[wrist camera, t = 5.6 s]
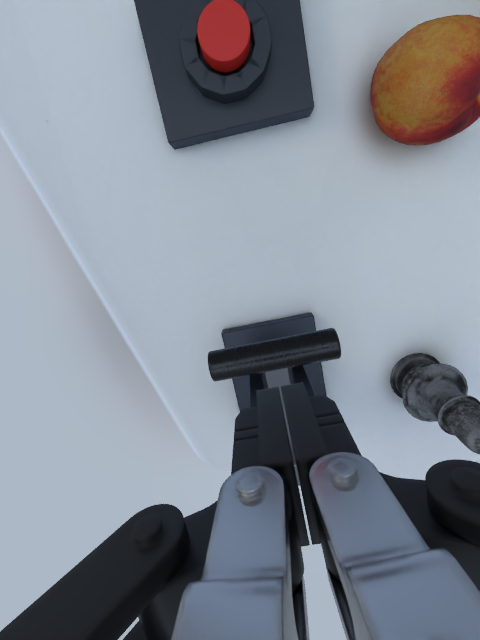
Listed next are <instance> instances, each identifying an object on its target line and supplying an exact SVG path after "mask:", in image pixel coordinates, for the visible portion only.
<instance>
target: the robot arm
mask: <svg viewBox="0 0 480 640" xmlns="http://www.w3.org/2000/svg"><path fill="white" fill-rule="evenodd" d="M281 391H282V396H283V401H284V406H285V411H286V416H287V421H288V426H289V431H290V436H291V441H292V446H293V451H294V456H295V461H296V466H297V471H298V476H299V481H300V486H301V491H302V496H303V500H304V506H305V510H306V515H307V520H308V525H309V530H310V535H311V540H312V544H320V543H321V545H322V549H323V553H324V558H325V562H326V568H327V573H328V578H329V582H330V586H331V589H332V592H333V595H334V599H335V602H336V605H337V608H338V612H339V615H340V618H341V622H342V625H343V628H344V631H345V635H346V638H347V640H480V463H477V462H472V461H467V460H447V461H442V462H439V463H437V464H435V465H433V466H432V467H431V468H430V469H429V470H428V472H427V474H426V480H415V479H404V478H396V477H392V476H389V475H386V474H383V473H381V472H379V471H378V470H377V468H376V467H375V466H374V464H373V463H372V462H370V461H369V460H368V459H366V458H364V457H362V456H361V454H360V452H359V450H358V448H357V446H356V444H355V442H354V440H353V438H352V436H351V434H350V432H349V430H348V428H347V426H346V424H345V423H344V420H343V418H342V416H341V414H340V412H339V410H338V408H337V406H336V404H335V402H334V401H333V400H331V399H330V398H328V397H326V396H325V395H318V396H312V397H308V394H307V391H306V389H305V386H304V383H303V382H301V383H295V384H290V385H284V386H281ZM256 396H257V406H256V407H251V408H245V409H242V410H241V412H240V413H239V415H238V416H237V418H236V419H235V432H234V445H233V458H232V472H231V476H229V477H228V478H227V479H226V481H225V482H224V483H223V485H222V487H221V490H220V493H219V498H218V501H216V502H215V503H214V504H212V505H211V506H209V507H207V508H205V509H203V510H201V511H198V512H196V513H194V514H192V515H189V516H187V517H185V518H183V515H182V513H181V511H180V510H179V509H178V508H177V507H175V506H172V505H169V504H159V505H154V506H151V507H148V508H146V509H144V510H142V511H140V512H138V513H137V514H135V515H134V516H133V517H131V518H130V519H129V520H128V521H127V522H125V523H124V524H123V525H122V526H121V527H120V528H119V529H117V530H116V531H115V532H114V533H113V534H112V535H111V536H109V537H108V538H107V539H106V540H105V541H104V542H103V543H102V544H100V545H99V546H98V547H97V548H96V549H95V550H93V551H92V552H91V553H90V554H89V555H88V556H87V557H85V558H84V559H83V560H82V561H81V562H80V563H79V564H77V565H76V566H75V567H74V568H73V569H72V570H71V571H70V572H68V573H67V574H66V575H65V576H64V577H63V578H61V579H60V580H59V581H58V582H57V583H56V584H54V585H53V586H52V587H51V588H50V589H49V590H48V591H46V592H45V593H44V594H43V595H42V596H41V597H40V598H38V599H37V600H36V601H35V602H34V603H33V604H31V605H30V606H29V607H28V608H27V609H26V610H25V611H23V612H22V613H21V614H20V615H19V616H18V617H17V618H16V619H14V620H13V621H12V622H11V623H10V624H9V625H7V626H6V627H5V628H4V629H3V630H2V631H1V632H0V640H118V639H119V637H120V636H121V635H122V634H123V633H124V632H125V631H126V629H127V628H128V627H129V626H130V625H131V624H132V622H134V620H135V619H136V618H137V617H139V622H138V623H137V624H136V625H135V626H134V627H133V628H132V630H131V631H130V632H129V633H128V634H127V635H126V636H125V638H124V639H123V640H309V630H308V617H307V605H306V593H305V584H304V578H303V573H304V564H303V558H302V552H301V546H307V545H309V540H308V535H307V529H306V524H305V520H304V514H303V509H302V504H301V499H300V493H299V488H298V483H297V477H296V472H295V467H294V462H293V457H292V451H291V446H290V441H289V436H288V431H287V426H286V421H285V416H284V411H283V406H282V401H281V396H280V391H279V387H273V388H268V389H262V390H257V391H256Z"/></svg>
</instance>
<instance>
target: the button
mask: <svg viewBox="0 0 480 640" xmlns="http://www.w3.org/2000/svg"><path fill="white" fill-rule="evenodd" d="M197 34H198V40H199V43H200V47H201V51H202V54H203V57H204V59H205V61H206V62H207V64H208V65H209V66H210V67H212V68H213V69H214V70H216V71H219V72H224V73H226V72H232V71H234V70H236V69H238V68H239V67H240V66H242V64H243V63H244V62H245V60H246V59H247V57H248V54H249V50H250V22H249V18H248V16H247V14H246V12H245V10H244V9H243V8H242V6H241V5H239V4H238V3H237V2H235V1H233V0H214V1H212V2H211V3H209V4H208V5H207V6H206V7H205V8H204V10H203V11H202V13H201V15H200V17H199V21H198V26H197Z"/></svg>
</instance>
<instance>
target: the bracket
mask: <svg viewBox="0 0 480 640" xmlns="http://www.w3.org/2000/svg"><path fill="white" fill-rule="evenodd" d="M314 331H316V328H315V322H314V316H313V314H312V313H306V314H301V315H296V316H291V317H286V318H281V319H276V320H271V321H266V322H261V323H255V324H250V325H245V326H240V327H235V328H230V329H225V330H223V331H222V337H223V342H224V346H225V348H230V347H236V346H241V345H246V344H251V343H256V342H262V341H267V340H272V339H277V338H282V337H288V336H293V335H298V334H303V333H308V332H314ZM288 373H289V379H290V384H295V383H301V382H303V383H304V386H305V389H306V391H307V394H308V397H312V396H318V395H325V396H326V390H325V384H324V378H323V372H322V365H321V362H317V363H312V364H306V365H301V366H295V367H290V368H288ZM232 380H233V384H234V388H235V392H236V397H237V401H238V405H239V409H240V412H241V410H242V409H245V408H251V407H256V406H257V396H256V391H257V390H262V389H268V384H267V380H266V375H265V372H263V373H258V374H252V375H247V376H241V377H236V378H232ZM326 397H327V396H326Z"/></svg>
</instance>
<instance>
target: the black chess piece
mask: <svg viewBox="0 0 480 640" xmlns="http://www.w3.org/2000/svg"><path fill="white" fill-rule="evenodd" d="M390 382H391V386H392V389H393V390H394V392H395V393H396V394H397V395H398V396H399V397H401V398H402V399H403V403H404V406H405V408H406V409H407V411H408V412H409V413H410V414H411V415H412V416H413V417H415V418H417V419H419V420H422V421H428V422H432V421H438V423H439V426H440V427H441V429H442V430H444V431H445V432H446V433H448V434H451V435H455V436H456V437H457V438H458V439H459V440H460V441H461V442H462V443H463V444H464V445H465V446H466V447H467V448H469V449H470V450H471V451H473V452H475V453H477V454H480V402H479V401H478V400H477V399H476V398H474V397H471V396H467V391H468V386H467V381H466V379H465V377H464V376H463V374H462V373H461V372H460V371H459V370H458V369H456V368H454V367H452V366H450V365H446V364H440V363H439V361H437V360H436V359H435V358H434V357H432V356H430V355H428V354H422V353H418V354H412V355H409V356H406V357H405V358H403V359H401V360H400V361H399V362H398V363H397V364H396V365H395V367H394V369H393V370H392V373H391V381H390Z"/></svg>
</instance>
